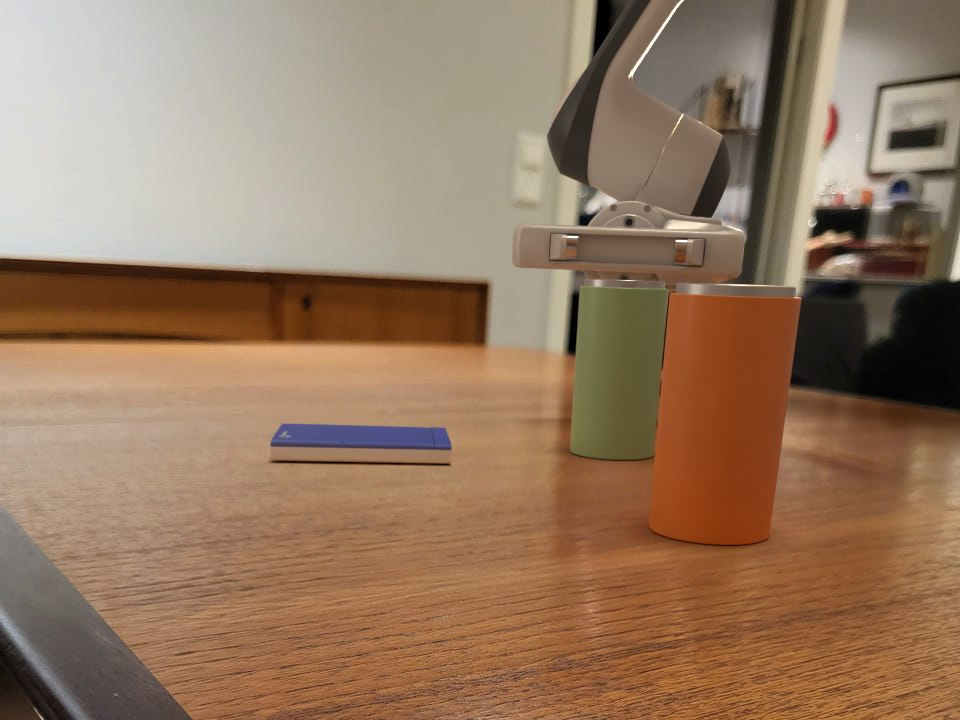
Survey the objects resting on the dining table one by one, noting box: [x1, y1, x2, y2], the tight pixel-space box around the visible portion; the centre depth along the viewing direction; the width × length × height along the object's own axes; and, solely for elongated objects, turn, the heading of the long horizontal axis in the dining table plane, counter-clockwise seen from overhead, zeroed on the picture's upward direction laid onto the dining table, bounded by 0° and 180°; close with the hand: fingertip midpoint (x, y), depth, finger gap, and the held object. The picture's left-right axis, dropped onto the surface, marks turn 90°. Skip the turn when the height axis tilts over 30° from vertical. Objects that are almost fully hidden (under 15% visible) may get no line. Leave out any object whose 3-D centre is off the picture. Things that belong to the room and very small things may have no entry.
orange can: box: [648, 283, 802, 546], centre depth 52 cm, size 6×6×12 cm
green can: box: [569, 278, 669, 461], centre depth 75 cm, size 6×6×12 cm
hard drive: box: [269, 423, 453, 465], centre depth 73 cm, size 2×8×12 cm
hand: (625, 248), depth 83 cm, fingers open, 8 cm apart
